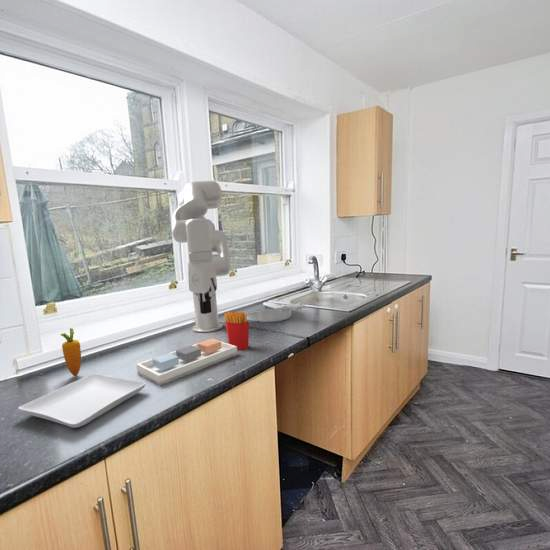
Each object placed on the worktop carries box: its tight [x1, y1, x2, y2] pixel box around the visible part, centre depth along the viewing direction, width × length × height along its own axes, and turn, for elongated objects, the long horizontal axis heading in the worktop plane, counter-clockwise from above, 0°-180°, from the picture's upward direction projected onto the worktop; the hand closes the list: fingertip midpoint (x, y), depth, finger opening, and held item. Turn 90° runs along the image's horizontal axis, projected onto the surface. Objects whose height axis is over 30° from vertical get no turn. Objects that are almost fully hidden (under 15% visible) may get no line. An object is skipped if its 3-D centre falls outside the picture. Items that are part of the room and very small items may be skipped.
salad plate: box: [17, 373, 147, 429], centre depth 88 cm, size 21×21×3 cm
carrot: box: [60, 327, 82, 377], centre depth 106 cm, size 5×5×15 cm
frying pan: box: [245, 301, 306, 323], centre depth 156 cm, size 23×33×10 cm
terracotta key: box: [196, 338, 222, 354], centre depth 116 cm, size 6×6×2 cm
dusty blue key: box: [151, 352, 179, 370], centre depth 105 cm, size 6×6×2 cm
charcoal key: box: [175, 345, 201, 362], centre depth 111 cm, size 6×6×2 cm
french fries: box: [223, 311, 250, 351], centre depth 123 cm, size 9×4×13 cm, turn 61°
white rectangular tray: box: [136, 338, 238, 387], centre depth 111 cm, size 14×28×3 cm, turn 136°
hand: (206, 312), depth 114 cm, fingers closed
